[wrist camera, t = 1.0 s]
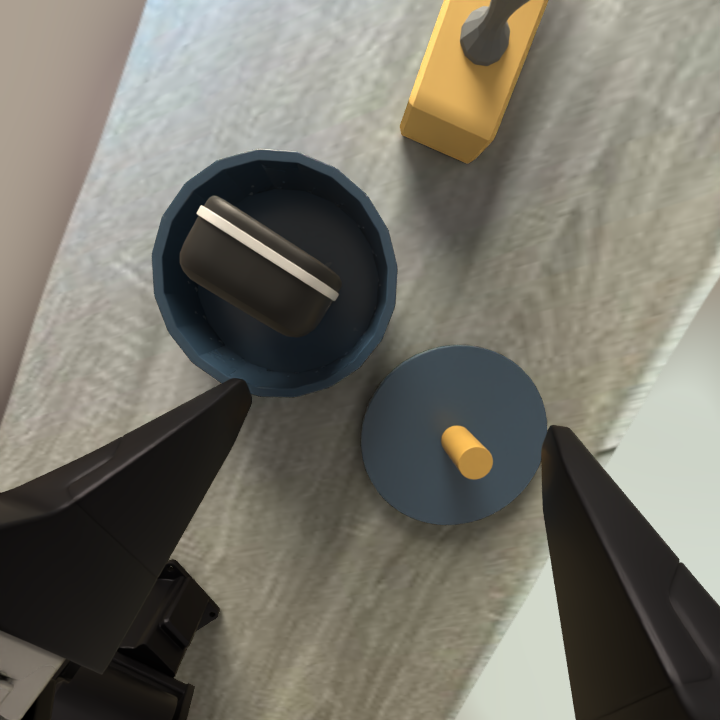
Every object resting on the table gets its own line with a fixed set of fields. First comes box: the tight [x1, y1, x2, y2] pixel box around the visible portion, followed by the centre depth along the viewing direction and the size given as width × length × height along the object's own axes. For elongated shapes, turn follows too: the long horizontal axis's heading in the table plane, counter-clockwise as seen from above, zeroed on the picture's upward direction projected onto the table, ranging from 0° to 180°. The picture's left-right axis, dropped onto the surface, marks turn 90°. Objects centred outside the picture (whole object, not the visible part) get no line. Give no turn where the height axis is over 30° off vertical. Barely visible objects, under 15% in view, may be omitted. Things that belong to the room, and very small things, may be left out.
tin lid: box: [361, 345, 547, 525], centre depth 26 cm, size 15×15×5 cm
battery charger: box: [180, 196, 342, 338], centre depth 19 cm, size 7×4×11 cm, turn 58°
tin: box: [152, 149, 398, 397], centre depth 23 cm, size 14×14×5 cm
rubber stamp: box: [400, 0, 548, 164], centre depth 18 cm, size 10×6×12 cm, turn 160°
